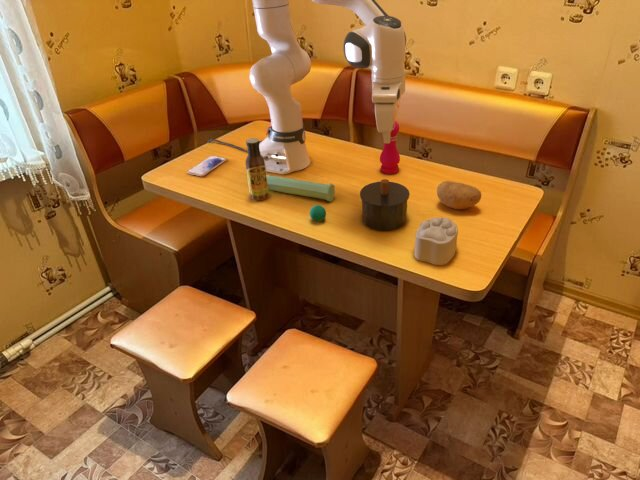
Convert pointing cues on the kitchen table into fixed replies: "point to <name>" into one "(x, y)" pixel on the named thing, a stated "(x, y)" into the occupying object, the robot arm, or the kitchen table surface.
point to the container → (301, 187)
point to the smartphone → (206, 166)
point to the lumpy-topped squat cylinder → (436, 241)
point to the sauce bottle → (256, 171)
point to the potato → (458, 195)
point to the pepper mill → (390, 154)
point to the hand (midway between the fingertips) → (389, 135)
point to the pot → (384, 216)
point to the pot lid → (384, 194)
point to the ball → (317, 213)
